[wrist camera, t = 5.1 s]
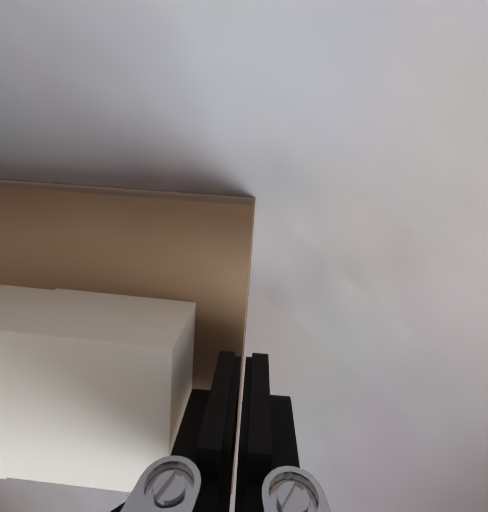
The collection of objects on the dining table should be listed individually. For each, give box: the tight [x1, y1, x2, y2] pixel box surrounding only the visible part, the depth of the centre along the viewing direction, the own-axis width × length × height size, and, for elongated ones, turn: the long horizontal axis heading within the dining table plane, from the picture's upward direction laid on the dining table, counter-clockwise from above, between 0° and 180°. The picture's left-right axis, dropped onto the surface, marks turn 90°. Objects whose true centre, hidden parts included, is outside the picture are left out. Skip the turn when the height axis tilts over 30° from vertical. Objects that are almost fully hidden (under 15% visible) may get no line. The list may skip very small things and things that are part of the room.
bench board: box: [0, 179, 256, 493], centre depth 13 cm, size 12×12×4 cm
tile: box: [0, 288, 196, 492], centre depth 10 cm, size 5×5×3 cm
